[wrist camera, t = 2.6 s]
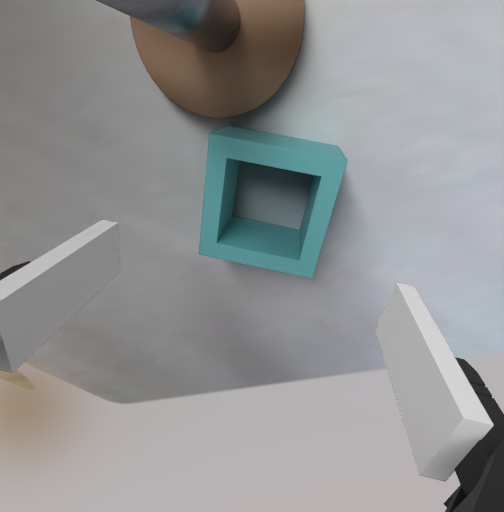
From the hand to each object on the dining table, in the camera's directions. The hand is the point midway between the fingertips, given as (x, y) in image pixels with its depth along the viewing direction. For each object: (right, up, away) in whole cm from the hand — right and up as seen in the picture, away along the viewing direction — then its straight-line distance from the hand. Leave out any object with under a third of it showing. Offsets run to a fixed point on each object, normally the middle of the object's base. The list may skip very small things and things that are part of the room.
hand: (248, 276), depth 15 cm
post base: (-2, +18, +8) cm, 19 cm away
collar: (+2, +7, +13) cm, 14 cm away
